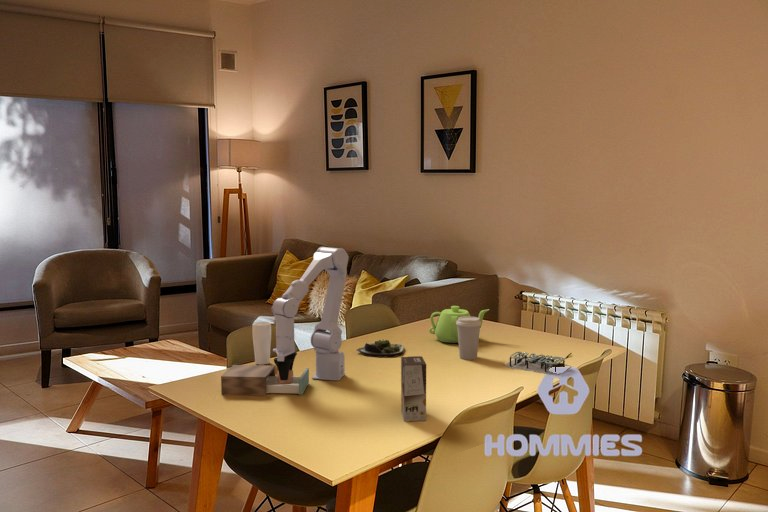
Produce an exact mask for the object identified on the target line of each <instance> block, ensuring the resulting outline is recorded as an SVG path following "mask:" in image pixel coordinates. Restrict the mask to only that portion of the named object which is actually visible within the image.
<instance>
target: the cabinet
mask: <svg viewBox="0 0 768 512" xmlns="http://www.w3.org/2000/svg"><path fill="white" fill-rule="evenodd" d="M268 376H276V365H269V364H267V365H257V364H233V365H231V367H229V368H228V369H227V370H226V371H225V372H224V373H222V375H221V376H220V387H221V390H220V391H221V395H233V396H234V395H236V396H237V395H238V396H267V395H268V393H267V390H266V378H267V377H268Z"/></svg>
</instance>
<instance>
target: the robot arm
mask: <svg viewBox="0 0 768 512" xmlns="http://www.w3.org/2000/svg"><path fill="white" fill-rule="evenodd" d="M312 257H313V259H312V261H311V263H310V264H309V265H308V266H307V268H306V270H305V272H304V273H303V275H302V276H301V277H300V278H299V279H295V280H294V281H291V283H290V286H289V287H288V288H287V289H286V291H285V292H284V293H283V294H282V295H281V297H278V298H277V299H275V300H274V301H273V303H272V306H271V307H270V308H271V313H272V314H273V315H274V320H275V340H276V341H275V342H276V344H275V347H276V348H273V349H272V352H273V353H276V357H274V358H273V362H274V364H275V367H276V368H277V371H278V372H279V376H280V379H281V380H288V375H289V369H290V370H293V368H294V363H295V359H296V357H297V354H298V353H297V352H296V348H295V347H296V346H295V316H296V315H297V313H298V311H299V306H300V304H301V302H302V301H303V299H304V298H305V297H306V296H307V294H308V293H309V290H310V287H309V286H310V285H311V283H312V282H313V281H314V280H315V279H316V278H317V277H318V276H319V275H320V273H322V271H324V270H325V272H327V274H328V275H329V279H328V285H327V289H326V295H325V300H324V304H323V305H324V306H323V311H322V315H321V319H320V322H318V323H317V324H316V325H315V326H314V329H313V332H312V333H311V336H310V344H311V347H313V350H314V351H315V373H314V375H313V376H312V377H311V379H312V380H323V381H326V380H327V381H335V382H336V381H340V380H341V379H342V378H343V377H344V376H345V375H346V372H345V370H346V369H345V354H344V352H343V351H342V352H341V351H339V350H340V348H341V347H342V343H343V338H342V333H343V331H342V329H341V327H340V326H339V325H338V321H339V317H340V316H339V315H340V311H341V306H342V300H343V295H344V289H345V285H346V280H347V275H348V271H347V270H348V269H347V267H348V264H349V263H348V262H349V259H350V258H349V257H350V256H349V255H348V253H347V251H346V250H345V249H344V248H342V247H339V248H338V247H329V246H328V247H326V246H320V247H318V248H317V250H316V251H315V252H314V253H313V256H312Z"/></svg>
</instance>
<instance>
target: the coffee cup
mask: <svg viewBox="0 0 768 512" xmlns="http://www.w3.org/2000/svg"><path fill="white" fill-rule="evenodd" d="M470 316H471V315H470ZM470 316H465V317H459V318H458V320H457V322H456V325H457V329H458V342H459V343H458V352H459V353H458V355H459V359H461V360H465V361H473V360H476V359H477V358H478V351H479V350H478V349H479V341H480V333H481V332H480V331H481V328H480V325H481V326H482V325H483V323H482V324H481V321H480V319H479V318H478V317H477V316H471V317H470Z"/></svg>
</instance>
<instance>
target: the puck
mask: <svg viewBox="0 0 768 512" xmlns="http://www.w3.org/2000/svg"><path fill="white" fill-rule="evenodd" d="M276 373H277V375H276V376H277V383H278V384H283V385H286V384H291V383H293V376H294V370H293V369H292V370H290V369H289V375H288V380H281V379H280V376H279V372H278V370H277V371H276Z"/></svg>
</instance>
